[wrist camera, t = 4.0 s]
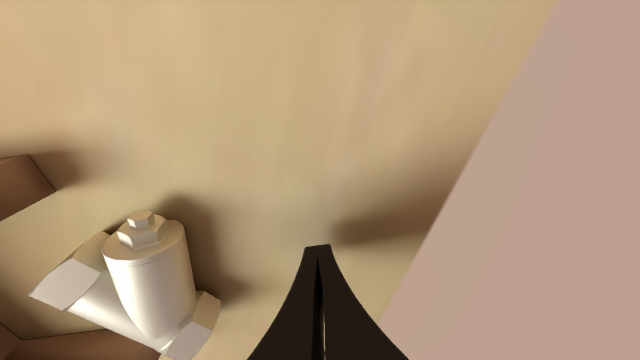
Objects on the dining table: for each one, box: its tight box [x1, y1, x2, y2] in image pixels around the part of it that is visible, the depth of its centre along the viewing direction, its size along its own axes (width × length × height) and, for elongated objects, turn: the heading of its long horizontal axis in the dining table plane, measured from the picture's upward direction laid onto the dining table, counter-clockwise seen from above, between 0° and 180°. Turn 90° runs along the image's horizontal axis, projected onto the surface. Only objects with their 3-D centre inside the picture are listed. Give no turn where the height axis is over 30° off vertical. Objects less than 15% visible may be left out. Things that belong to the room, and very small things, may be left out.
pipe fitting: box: [28, 210, 221, 360], centre depth 13 cm, size 8×4×7 cm
